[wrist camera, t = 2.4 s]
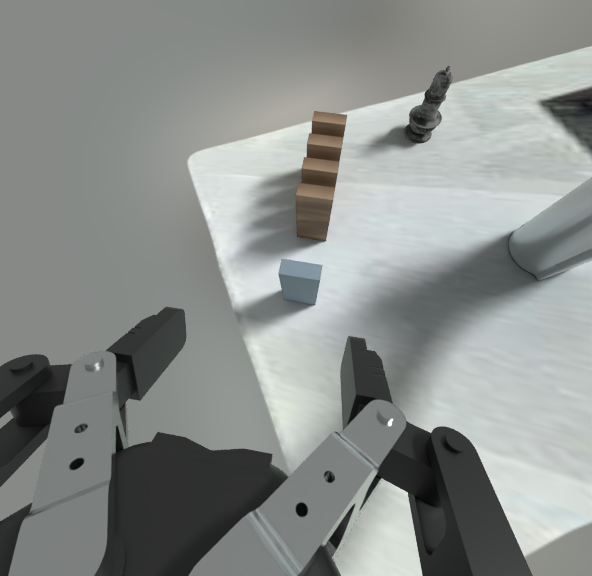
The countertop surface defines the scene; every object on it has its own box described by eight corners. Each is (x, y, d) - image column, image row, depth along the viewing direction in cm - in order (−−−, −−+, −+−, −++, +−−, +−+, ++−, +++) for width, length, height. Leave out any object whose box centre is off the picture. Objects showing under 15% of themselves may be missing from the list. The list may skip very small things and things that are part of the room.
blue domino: (315, 305, 42) (319, 280, 32) (284, 299, 42) (278, 273, 32) (317, 293, 43) (322, 265, 32) (286, 287, 43) (281, 258, 33)
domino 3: (329, 218, 47) (337, 173, 37) (301, 214, 48) (301, 168, 37) (331, 209, 48) (339, 161, 37) (303, 205, 48) (304, 157, 38)
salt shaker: (430, 121, 54) (464, 53, 43) (435, 144, 52) (472, 78, 41) (400, 122, 54) (427, 53, 43) (404, 144, 52) (433, 79, 41)
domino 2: (333, 197, 49) (341, 148, 38) (305, 193, 49) (307, 143, 39) (334, 188, 49) (343, 137, 39) (307, 185, 50) (309, 133, 39)
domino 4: (325, 241, 46) (333, 200, 35) (297, 236, 46) (295, 194, 36) (327, 230, 46) (335, 187, 36) (299, 226, 47) (298, 182, 36)
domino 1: (336, 177, 50) (345, 124, 40) (309, 174, 50) (312, 120, 40) (337, 169, 51) (347, 115, 40) (311, 165, 51) (314, 111, 41)
